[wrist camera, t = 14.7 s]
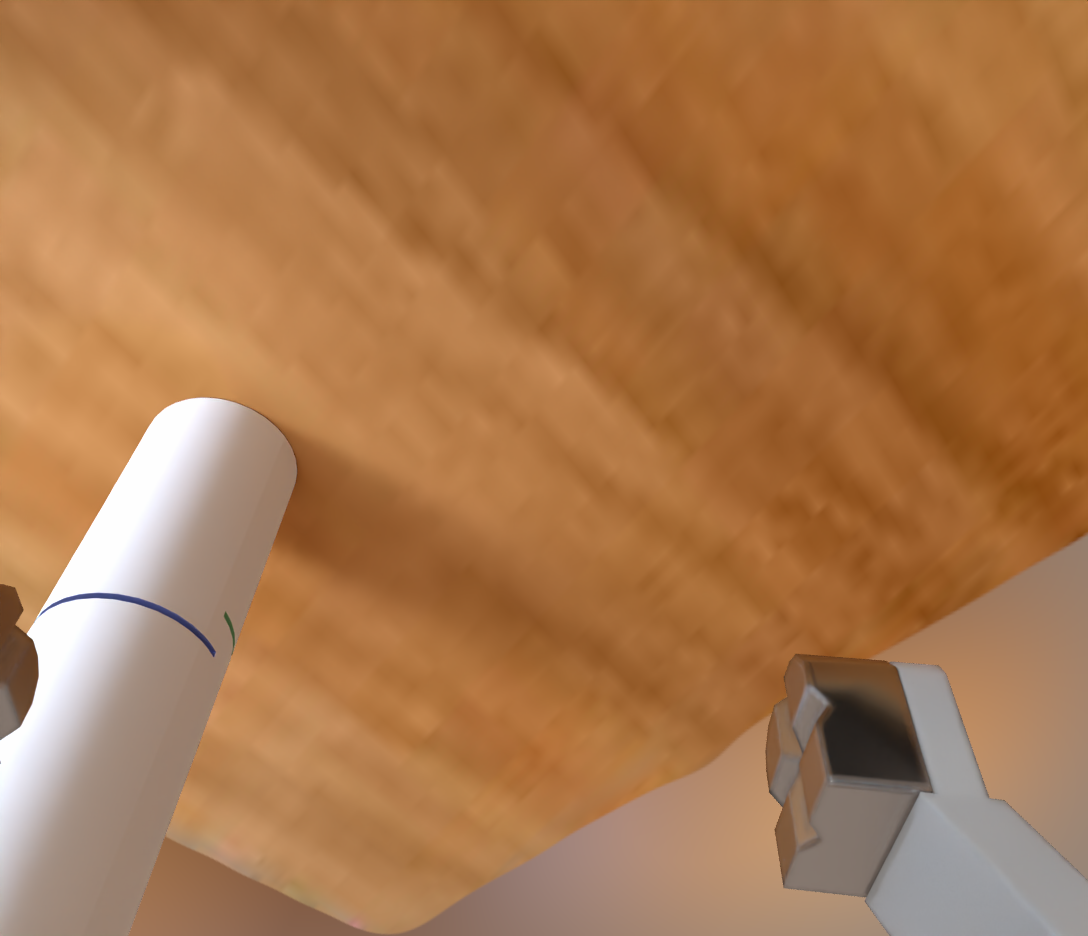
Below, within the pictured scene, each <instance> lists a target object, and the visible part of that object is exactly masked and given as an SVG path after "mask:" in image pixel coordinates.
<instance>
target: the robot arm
mask: <svg viewBox="0 0 1088 936" xmlns="http://www.w3.org/2000/svg"><path fill="white" fill-rule="evenodd" d="M22 612H23V607H22V604H21V602H20V599H19V597H18V594H17V591H16V589H15V588H14V587H11V586H7V585H4V584H0V740H2V739H3V738H5V737H6V736H8V735H9V734H11V733H12V732H14V731H15V730H17V729H18V728H20V727H21V725H22V723H23V721H24V719H25V717H26V715H27V713H28V711H29V709H30V707H31V706H32V703H33V699H34V695H35V691H36V687H37V683H38V678H39V665H38V654H37V651H36V647H35V644H34V641H33V639H32V638H30V637H29V636H28V635H27V634H26V633H24V632H23V631H22V630H21V629H20V628H18V627H17V626H16V625H15V624H16V622H17V621H18V619H19V617H20V615H21V614H22ZM784 682H785V688H786V694H787V697H786V698H785V699H783V700H782V701H780V702H779V703H777V704H775V705H774V708H773V712H772V715H771V719H770V722H769V725H768V733H767V742H766V772H767V780H768V787H769V793H770V794H771V795H772V796H773V797H774V798H775V799H776V801H778V803H779V804H780V805H781V806H782V807H783V808H782V811H781V814H780V817H779V819H778V822H777V825H776V828H775V835H776V841H777V848H778V854H779V861H780V867H781V874H782V880H783V886H784V888H788V889H797V890H806V891H815V892H824V893H833V894H842V895H851V896H860V897H866V899H865V902H866V904H867V905H868V907H869V908H870V909H871V910H872V912H873V914H874V915H875V916H876V918H877V919H878V920H879V922H880V923H881V924H882V926H883V927H884V929H885V930H886V931H887V933H888V934H889V936H1088V880H1087V879H1086V878H1085V877H1084V876H1083V875H1082V874H1081V873H1080V872H1079V871H1078V870H1077V869H1076V868H1075V867H1074V866H1073V865H1071V863H1069V862H1068V861H1067V860H1066V859H1065V858H1064V857H1063V856H1062V855H1061V854H1060V853H1059V852H1058V851H1057V850H1056V849H1055V848H1054V847H1053V846H1052V845H1050V843H1049V842H1047V841H1046V840H1045V839H1044V838H1043V837H1042V836H1041V835H1040V834H1039V833H1038V832H1037V831H1036V830H1035V829H1034V828H1033V827H1032V826H1031V825H1030V824H1028V822H1026V821H1025V820H1024V819H1023V818H1022V817H1021V816H1020V815H1019V814H1018V813H1017V812H1016V811H1015V810H1014V809H1013V808H1012V807H1011V806H1010V805H1009V804H1008V803H1006V801H1005V800H999V799H991V798H989V795H988V793H987V790H986V787H985V784H984V781H983V778H982V775H981V773H980V770H979V767H978V764H977V761H976V758H975V755H974V752H973V749H972V747H971V744H970V741H969V738H968V735H967V732H966V729H965V726H964V724H963V721H962V718H961V715H960V712H959V709H958V706H957V704H956V701H955V698H954V695H953V692H952V689H951V686H950V683H949V680H948V678H947V675H946V673H945V672H944V671H943V670H942V669H941V667H940V666H938V665H926V664H914V663H902V662H889V663H888V662H887V661H882V660H869V659H856V658H843V657H831V656H818V655H805V654H795V655H794V656H793V658H792V659H791V660H790V661H789V664H788V667H787V670H786V672H785V675H784ZM0 764H1V762H0Z"/></svg>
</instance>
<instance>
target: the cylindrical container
mask: <svg viewBox="0 0 1088 936" xmlns="http://www.w3.org/2000/svg"><path fill="white" fill-rule="evenodd" d="M296 477H297V465H296V458H295V456H294V453H293V450H292V447H291V446H290V444H289V442H288V441H287V439H286V438H285V436H284V435H283V434H282V433H281V432H280V430H279V429H278V428H277V427H276V426H275V425H274V424H272V423H271V422H270V421H269V420H268V419H266V418H265V417H264V416H262V415H260V414H259V413H257V412H255V411H254V410H252V409H250V408H248V407H245V406H243V405H240V404H238V403H235V402H231V401H227V400H223V399H216V398H194V399H187V400H184V401H180V402H177V403H175V404H173V405H171V406H169V407H167V408H165V409H164V410H163V411H162V412H161V413H159V414H158V415H157V416H156V417H155V419H154V420H153V422H152V423H151V425H150V426H149V428H148V430H147V431H146V433H145V435H144V436H143V438H142V440H141V442H140V443H139V445H138V447H137V448H136V450H135V452H134V454H133V455H132V457H131V459H130V460H129V462H128V464H127V466H126V467H125V469H124V471H123V472H122V474H121V476H120V478H119V479H118V481H117V483H116V484H115V486H114V488H113V490H112V491H111V493H110V495H109V496H108V498H107V500H106V502H105V503H104V505H103V507H102V508H101V510H100V512H99V514H98V515H97V517H96V519H95V520H94V522H93V524H92V525H91V527H90V529H89V530H88V532H87V534H86V536H85V537H84V539H83V541H82V542H81V544H80V546H79V547H78V549H77V551H76V552H75V554H74V556H73V558H72V559H71V561H70V563H69V564H68V566H67V568H66V569H65V571H64V573H63V574H62V576H61V578H60V580H59V581H58V583H57V585H56V586H55V588H54V590H53V591H52V593H51V595H50V596H49V598H48V600H47V602H46V603H45V605H44V607H43V608H42V610H41V612H40V613H39V615H38V617H37V618H36V620H35V622H34V624H33V626H32V627H31V629H30V630H29V632H28V634H27V635H28V636H29V637H30V638H32V639H33V641H34V644H35V647H36V651H37V654H38V665H39V678H38V683H37V687H36V691H35V695H34V699H33V703H32V706H31V707H30V709H29V711H28V713H27V715H26V717H25V719H24V721H23V723H22V725H21V727H20V728H18V729H17V730H15V731H14V732H12V733H11V734H9V735H8V736H6V737H5V738H3V739H2V740H0V762H1V764H0V936H128V934H129V932H130V929H131V926H132V924H133V921H134V918H135V915H136V913H137V910H138V907H139V905H140V902H141V900H142V897H143V894H144V891H145V889H146V886H147V883H148V880H149V878H150V875H151V873H152V870H153V867H154V864H155V862H156V859H157V856H158V854H159V851H160V848H161V845H162V843H163V840H164V837H165V835H166V832H167V829H168V827H169V824H170V821H171V819H172V816H173V813H174V810H175V808H176V805H177V802H178V800H179V797H180V794H181V792H182V789H183V786H184V783H185V781H186V778H187V775H188V773H189V770H190V767H191V764H192V762H193V759H194V756H195V754H196V751H197V748H198V746H199V743H200V740H201V737H202V735H203V732H204V729H205V727H206V724H207V721H208V719H209V716H210V713H211V710H212V708H213V705H214V702H215V700H216V697H217V694H218V692H219V689H220V686H221V683H222V681H223V678H224V675H225V673H226V670H227V667H228V665H229V662H230V659H231V656H232V654H233V651H234V648H235V646H236V643H237V640H238V637H239V635H240V632H241V629H242V627H243V624H244V621H245V618H246V616H247V613H248V610H249V608H250V605H251V602H252V600H253V597H254V594H255V591H256V589H257V586H258V583H259V581H260V578H261V575H262V572H263V570H264V567H265V564H266V562H267V559H268V556H269V554H270V551H271V548H272V545H273V543H274V540H275V537H276V535H277V532H278V529H279V526H280V524H281V521H282V518H283V516H284V513H285V510H286V507H287V505H288V502H289V499H290V497H291V494H292V491H293V489H294V486H295V483H296Z"/></svg>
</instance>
